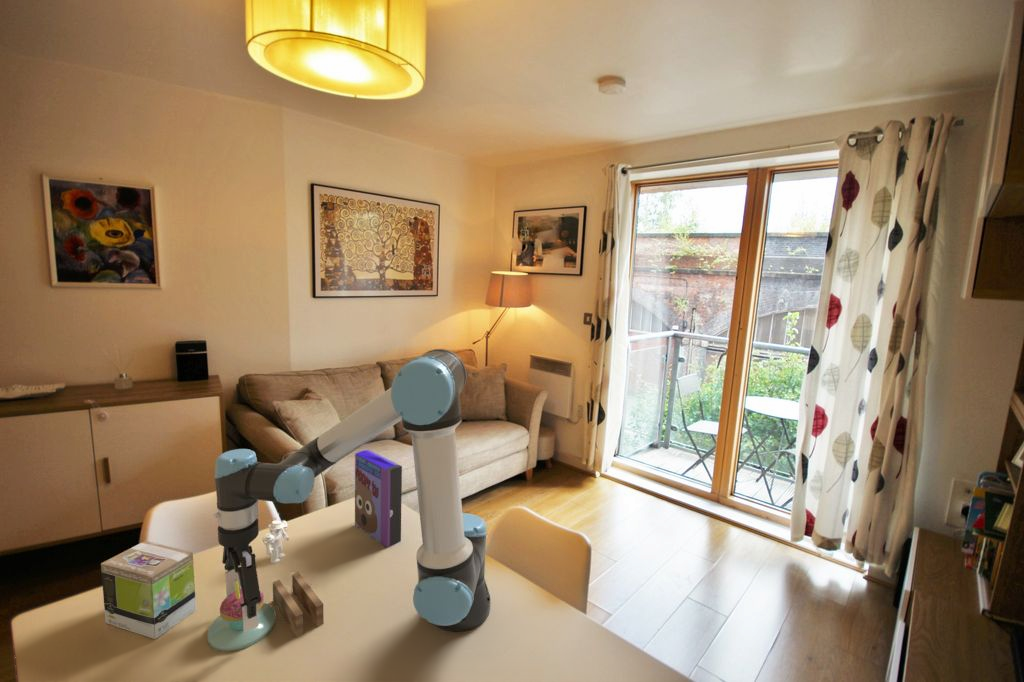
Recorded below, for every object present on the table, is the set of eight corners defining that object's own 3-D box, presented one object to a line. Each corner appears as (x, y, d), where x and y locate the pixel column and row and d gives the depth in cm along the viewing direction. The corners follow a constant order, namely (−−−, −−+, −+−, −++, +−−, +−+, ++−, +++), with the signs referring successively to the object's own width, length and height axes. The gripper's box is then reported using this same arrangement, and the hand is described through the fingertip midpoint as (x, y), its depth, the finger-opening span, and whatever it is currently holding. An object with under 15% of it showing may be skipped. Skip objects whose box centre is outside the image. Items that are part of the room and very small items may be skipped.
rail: (303, 633, 101) (302, 613, 101) (296, 637, 100) (295, 616, 100) (279, 598, 112) (279, 579, 111) (273, 600, 111) (272, 582, 110)
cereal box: (354, 525, 145) (354, 453, 142) (368, 519, 149) (368, 449, 145) (387, 547, 134) (388, 470, 131) (400, 541, 138) (401, 465, 134)
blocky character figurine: (280, 548, 131) (279, 509, 130) (293, 550, 131) (292, 510, 129) (259, 568, 123) (258, 526, 121) (273, 569, 122) (272, 528, 120)
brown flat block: (323, 623, 105) (323, 603, 104) (316, 626, 104) (316, 606, 103) (298, 589, 115) (298, 571, 114) (292, 592, 114) (292, 574, 113)
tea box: (198, 609, 107) (194, 551, 105) (154, 641, 98) (150, 578, 96) (149, 594, 111) (145, 538, 109) (103, 624, 102) (97, 563, 99)
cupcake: (249, 638, 98) (248, 587, 96) (210, 636, 98) (208, 584, 96) (271, 610, 106) (271, 562, 105) (235, 607, 107) (234, 559, 105)
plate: (283, 629, 102) (283, 624, 102) (216, 662, 93) (215, 657, 93) (264, 598, 111) (264, 594, 111) (201, 625, 102) (201, 621, 102)
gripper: (204, 505, 105) (208, 590, 108) (234, 554, 87) (238, 654, 91) (241, 495, 110) (244, 576, 113) (276, 540, 93) (279, 634, 96)
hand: (241, 611), depth 102 cm, fingers open, 12 cm apart
